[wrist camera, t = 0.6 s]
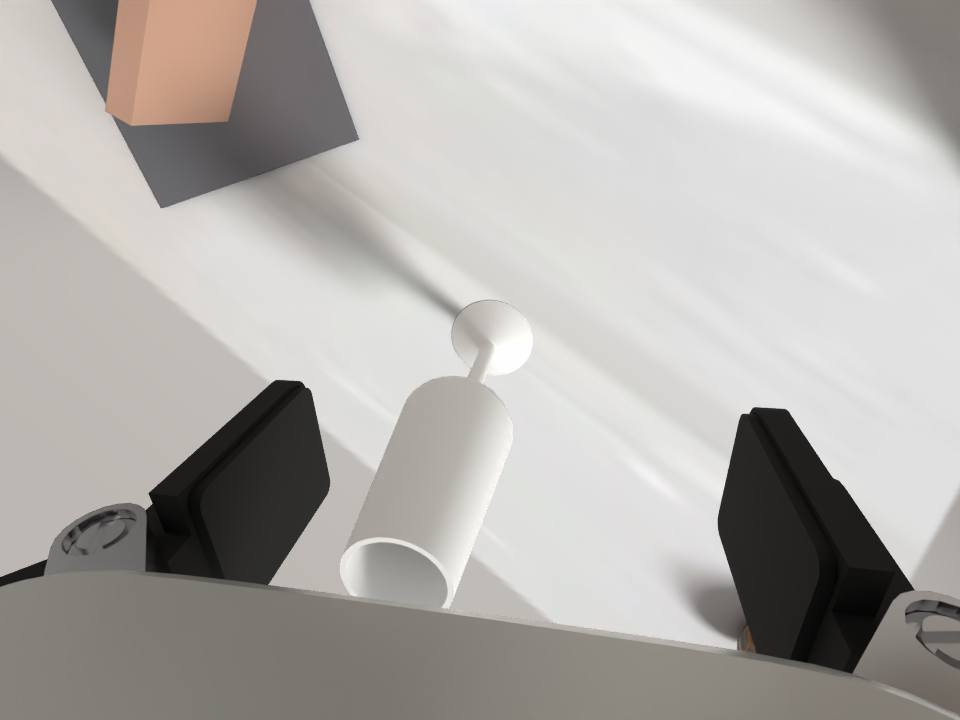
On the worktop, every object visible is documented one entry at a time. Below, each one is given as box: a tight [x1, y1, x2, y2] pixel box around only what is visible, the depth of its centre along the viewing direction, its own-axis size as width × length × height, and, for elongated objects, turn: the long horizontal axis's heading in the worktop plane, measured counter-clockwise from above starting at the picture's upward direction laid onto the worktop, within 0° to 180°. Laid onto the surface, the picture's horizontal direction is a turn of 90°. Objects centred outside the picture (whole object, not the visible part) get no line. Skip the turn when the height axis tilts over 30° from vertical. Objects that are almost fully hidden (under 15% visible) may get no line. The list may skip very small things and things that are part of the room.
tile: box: [105, 0, 257, 126], centre depth 31 cm, size 10×2×9 cm, turn 152°
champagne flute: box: [340, 300, 533, 609], centre depth 31 cm, size 7×7×24 cm
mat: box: [51, 0, 359, 208], centre depth 35 cm, size 20×18×1 cm
